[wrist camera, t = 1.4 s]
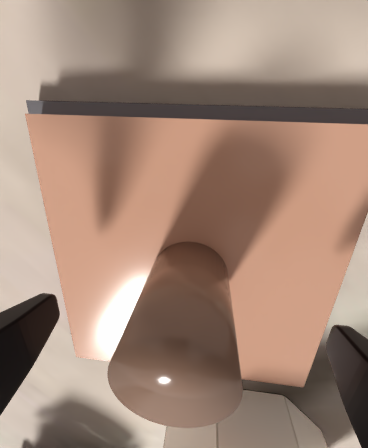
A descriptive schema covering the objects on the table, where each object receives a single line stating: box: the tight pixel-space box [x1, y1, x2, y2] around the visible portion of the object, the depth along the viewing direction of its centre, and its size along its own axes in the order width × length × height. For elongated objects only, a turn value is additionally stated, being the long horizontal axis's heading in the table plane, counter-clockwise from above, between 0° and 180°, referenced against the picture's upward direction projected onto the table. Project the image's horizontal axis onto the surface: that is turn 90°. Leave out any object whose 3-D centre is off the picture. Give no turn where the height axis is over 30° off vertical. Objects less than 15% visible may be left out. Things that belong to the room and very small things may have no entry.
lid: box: [25, 114, 368, 428], centre depth 8 cm, size 12×12×5 cm
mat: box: [26, 100, 368, 124], centre depth 10 cm, size 13×13×1 cm
